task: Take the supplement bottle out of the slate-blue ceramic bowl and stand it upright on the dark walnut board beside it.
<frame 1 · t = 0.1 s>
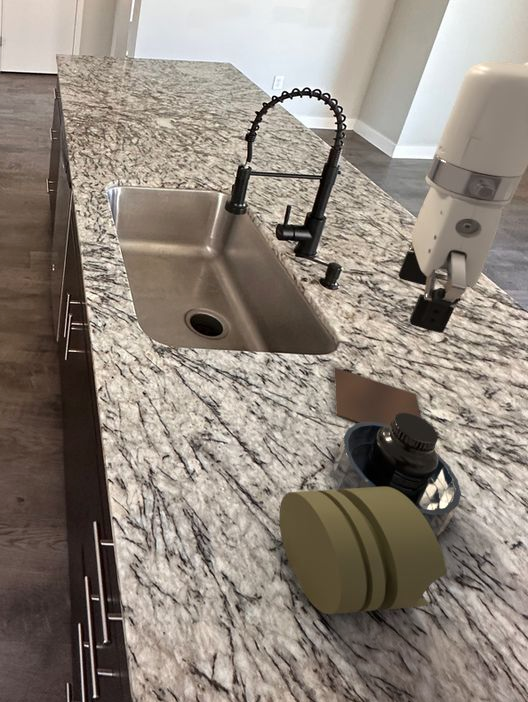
hand: (418, 302, 65), 30 cm above the countertop, tool pointing down, fingers open, 9 cm apart
supplement bottle: (387, 489, 74), resting on bowl
piston: (342, 576, 65), on the countertop
walnut board: (375, 406, 88), on the countertop
bowl: (386, 490, 75), on the countertop
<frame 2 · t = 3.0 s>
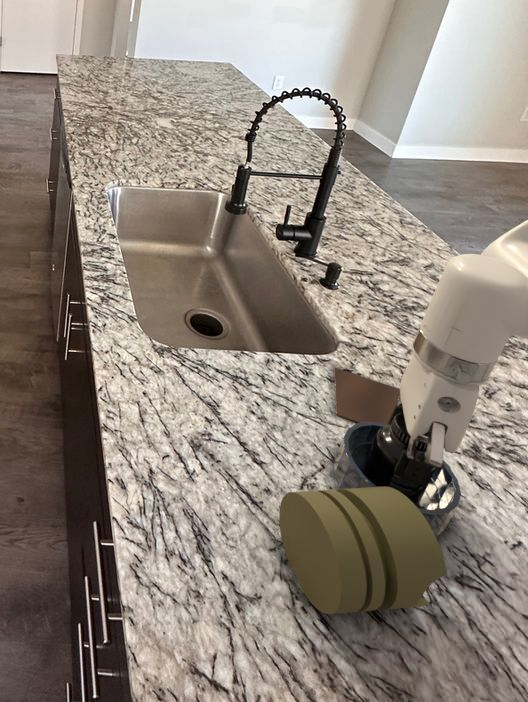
hand: (404, 453, 71), 8 cm above the countertop, tool pointing down, fingers closed on supplement bottle, 6 cm apart
supplement bottle: (387, 489, 74), resting on bowl, touching gripper
everything else where it was.
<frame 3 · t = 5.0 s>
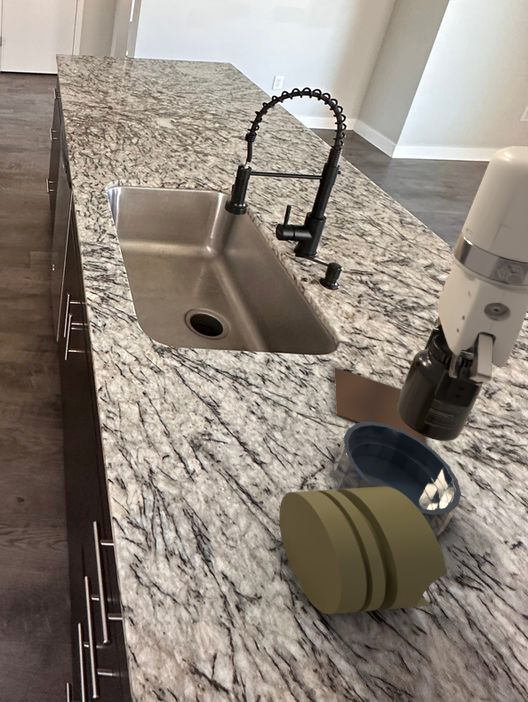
hand: (444, 377, 66), 21 cm above the countertop, tool pointing down, fingers closed on supplement bottle, 6 cm apart
supplement bottle: (425, 420, 69), point 14 cm above the countertop, touching gripper
everything else where it was.
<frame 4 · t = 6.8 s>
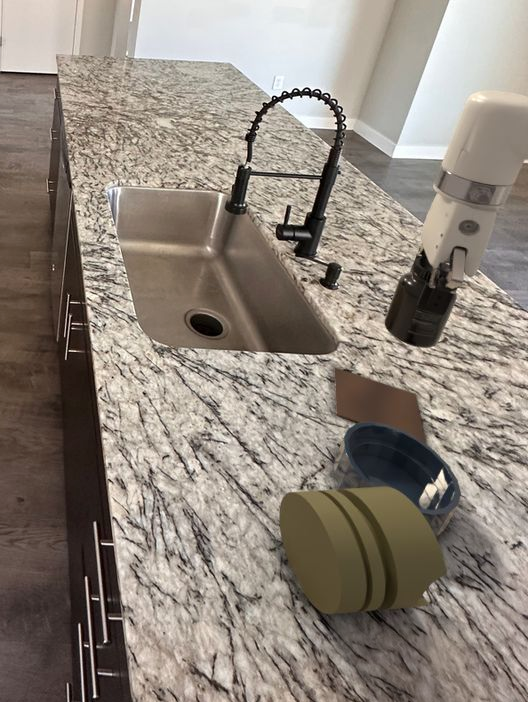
hand: (425, 294, 77), 23 cm above the countertop, tool pointing down, fingers closed on supplement bottle, 6 cm apart
supplement bottle: (408, 334, 80), point 16 cm above the countertop, touching gripper
everything else where it was.
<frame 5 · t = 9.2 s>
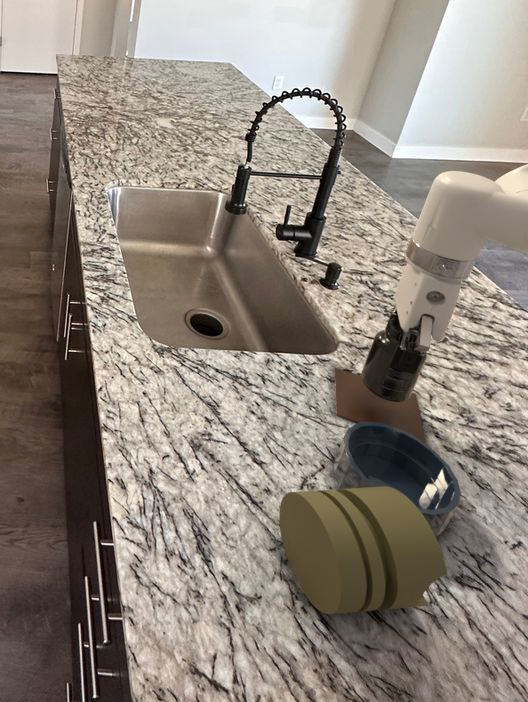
hand: (398, 352, 83), 12 cm above the countertop, tool pointing down, fingers closed on supplement bottle, 6 cm apart
supplement bottle: (383, 387, 86), point 4 cm above the countertop, touching gripper
everything else where it was.
when the fingers open (8 cm above the countertop, at t = 10.7 s): supplement bottle stays where it is, resting on walnut board.
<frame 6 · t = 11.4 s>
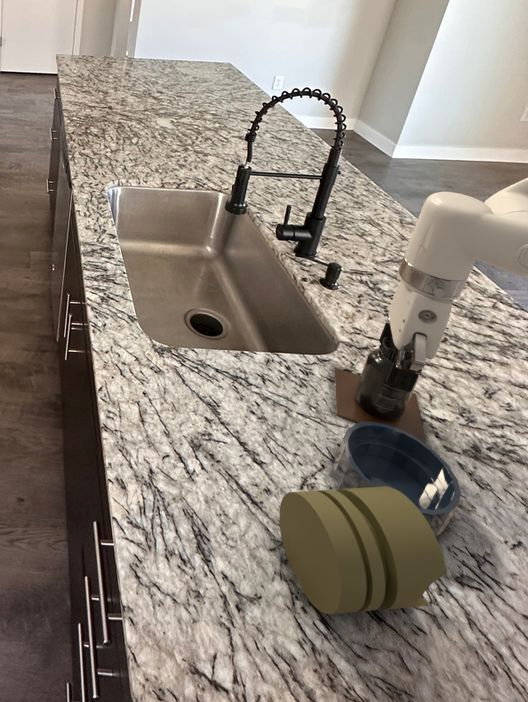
hand: (393, 365, 84), 9 cm above the countertop, tool pointing down, fingers open, 9 cm apart
supplement bottle: (376, 404, 87), resting on walnut board
everything else where it was.
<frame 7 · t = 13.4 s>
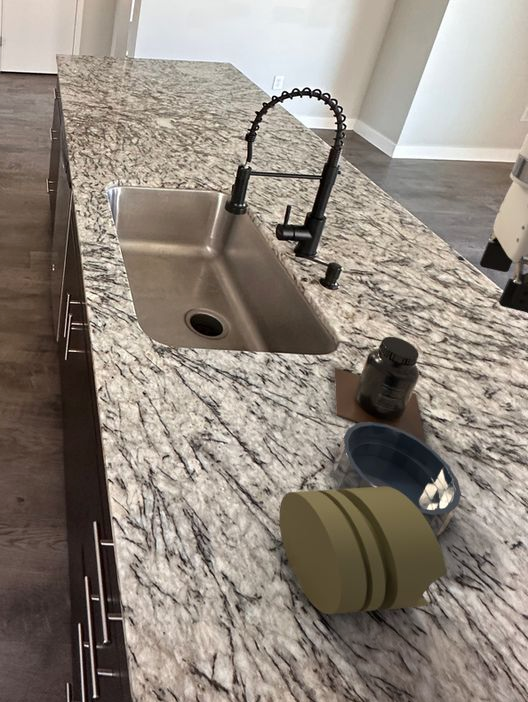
hand: (502, 287, 73), 27 cm above the countertop, tool pointing down, fingers open, 9 cm apart
nothing on the countertop moved.
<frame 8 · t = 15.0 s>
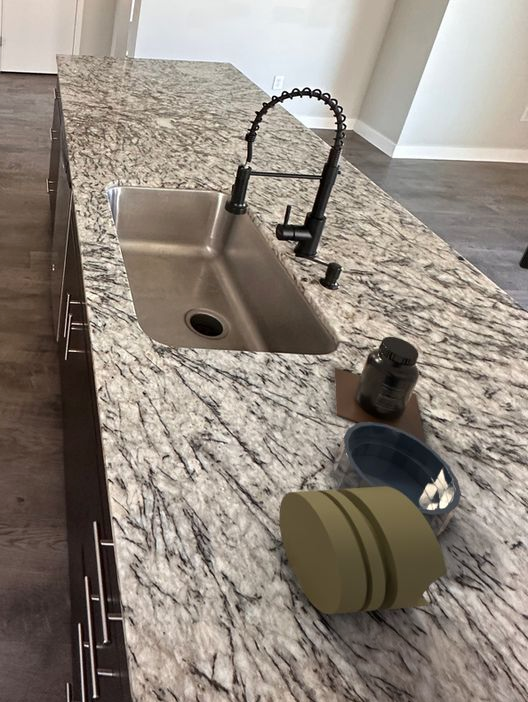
nothing on the countertop moved.
at the end: supplement bottle inside the target area (0.0 cm from its centre), resting on walnut board; supplement bottle tilted 0°; the gripper is holding nothing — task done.
